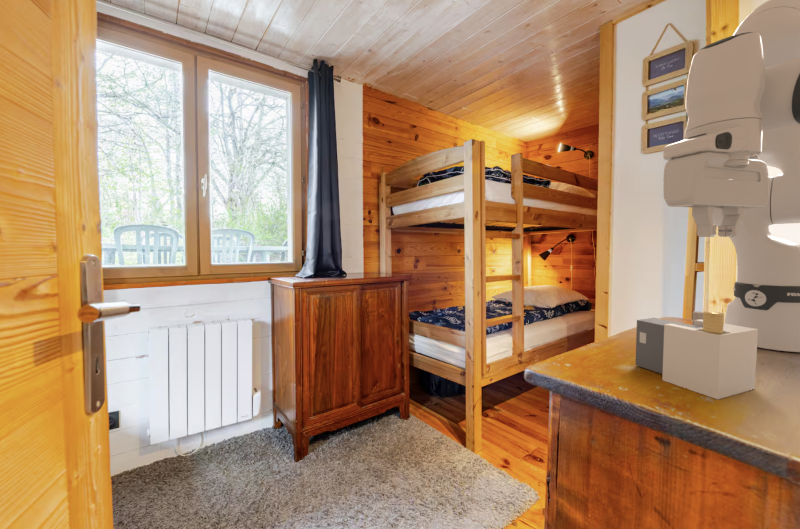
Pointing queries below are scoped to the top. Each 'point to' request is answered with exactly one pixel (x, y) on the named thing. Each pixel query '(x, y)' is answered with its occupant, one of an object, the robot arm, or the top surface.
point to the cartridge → (652, 342)
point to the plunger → (713, 322)
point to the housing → (710, 359)
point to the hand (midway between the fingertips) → (716, 236)
